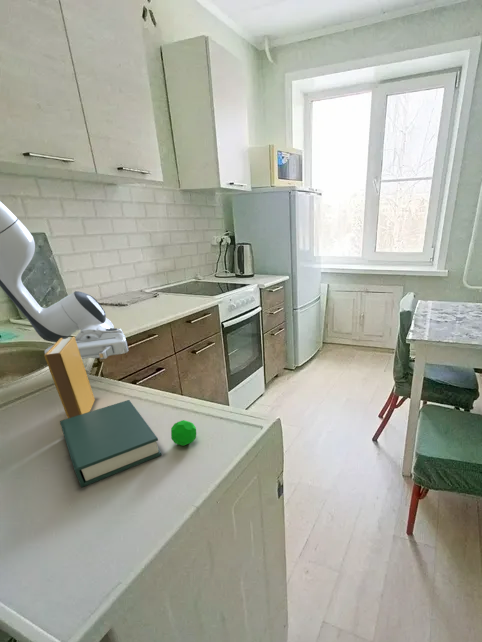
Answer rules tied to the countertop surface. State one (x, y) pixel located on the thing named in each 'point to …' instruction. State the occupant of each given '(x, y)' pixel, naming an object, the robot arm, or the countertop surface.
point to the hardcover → (108, 441)
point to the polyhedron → (183, 432)
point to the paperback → (70, 377)
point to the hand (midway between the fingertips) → (82, 358)
